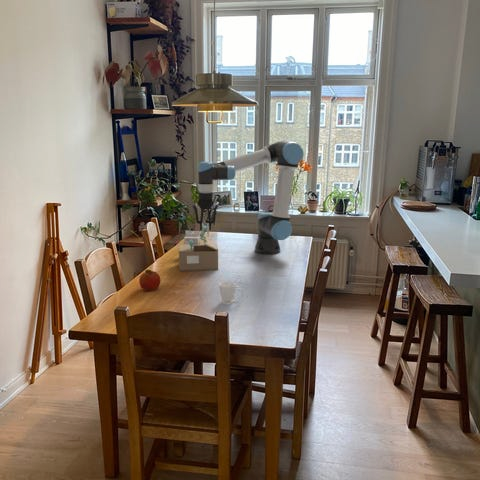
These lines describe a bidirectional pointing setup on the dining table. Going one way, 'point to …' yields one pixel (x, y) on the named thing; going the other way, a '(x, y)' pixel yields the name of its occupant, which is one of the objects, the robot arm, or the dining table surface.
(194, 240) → the ink box
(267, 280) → the dining table surface
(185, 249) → the flap
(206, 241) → the flap
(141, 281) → the fruit
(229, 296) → the cup
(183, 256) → the carton
